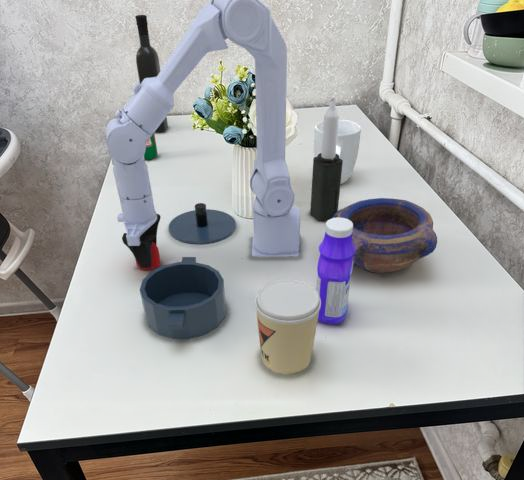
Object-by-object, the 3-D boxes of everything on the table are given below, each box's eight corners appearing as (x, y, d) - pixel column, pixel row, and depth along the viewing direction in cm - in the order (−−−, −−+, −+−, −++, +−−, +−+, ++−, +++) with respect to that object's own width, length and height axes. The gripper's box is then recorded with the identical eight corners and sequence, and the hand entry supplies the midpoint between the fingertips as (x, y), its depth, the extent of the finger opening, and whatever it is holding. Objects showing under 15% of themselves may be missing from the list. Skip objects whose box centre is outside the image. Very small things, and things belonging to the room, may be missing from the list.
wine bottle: (151, 126, 156) (133, 13, 136) (169, 127, 155) (153, 13, 135) (146, 133, 152) (127, 17, 131) (164, 133, 151) (148, 17, 131)
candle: (320, 222, 109) (329, 101, 92) (308, 213, 112) (314, 94, 95) (339, 217, 110) (351, 97, 94) (326, 208, 114) (336, 90, 97)
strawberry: (162, 257, 97) (158, 232, 94) (158, 270, 94) (154, 245, 90) (139, 257, 97) (134, 232, 94) (134, 270, 94) (129, 245, 90)
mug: (356, 197, 118) (363, 141, 109) (310, 195, 119) (313, 140, 110) (354, 171, 129) (360, 119, 120) (312, 170, 130) (315, 118, 121)
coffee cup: (254, 340, 80) (252, 279, 72) (310, 336, 81) (315, 275, 72) (258, 381, 73) (257, 319, 65) (320, 377, 74) (326, 315, 66)
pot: (228, 283, 92) (226, 253, 88) (222, 352, 78) (219, 320, 74) (156, 283, 92) (150, 253, 88) (137, 352, 78) (129, 321, 74)
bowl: (327, 238, 104) (331, 193, 97) (411, 237, 104) (421, 192, 97) (337, 287, 91) (343, 239, 84) (434, 286, 91) (447, 238, 84)
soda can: (137, 160, 136) (128, 114, 128) (144, 153, 140) (136, 108, 132) (154, 161, 135) (146, 115, 127) (160, 154, 139) (153, 109, 131)
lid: (237, 213, 112) (236, 190, 109) (234, 246, 102) (233, 222, 98) (174, 213, 113) (170, 190, 109) (164, 247, 102) (160, 222, 98)
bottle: (345, 329, 82) (357, 236, 70) (311, 325, 83) (318, 233, 71) (348, 303, 87) (360, 213, 75) (316, 300, 88) (323, 210, 76)
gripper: (121, 175, 91) (135, 240, 100) (102, 212, 80) (119, 280, 90) (159, 175, 91) (169, 240, 100) (145, 212, 80) (157, 280, 90)
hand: (148, 259), depth 95 cm, fingers closed on strawberry, 4 cm apart
